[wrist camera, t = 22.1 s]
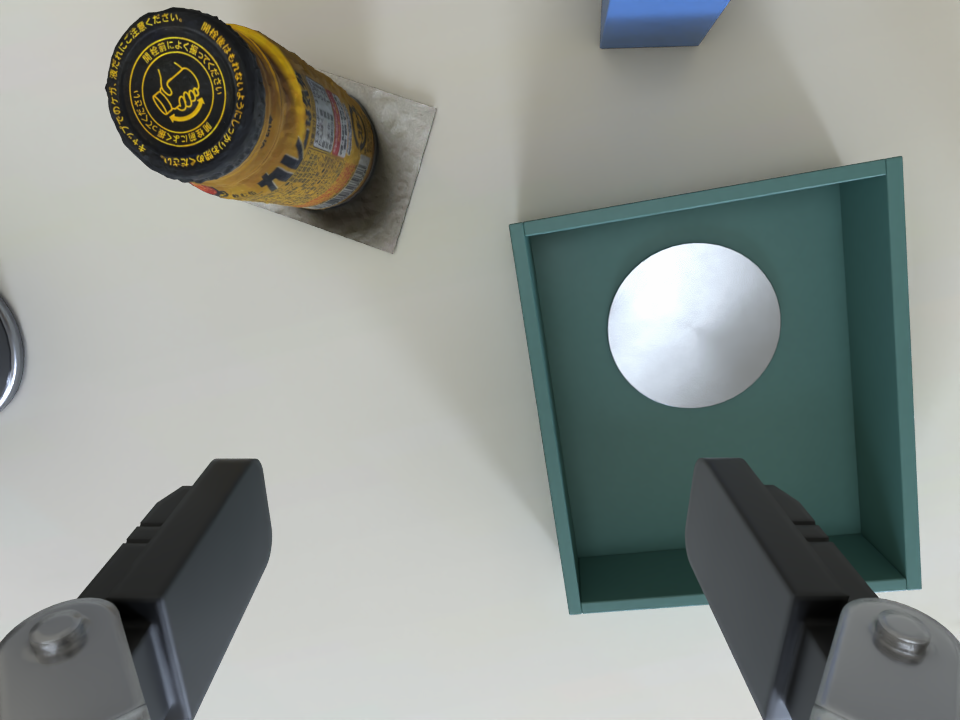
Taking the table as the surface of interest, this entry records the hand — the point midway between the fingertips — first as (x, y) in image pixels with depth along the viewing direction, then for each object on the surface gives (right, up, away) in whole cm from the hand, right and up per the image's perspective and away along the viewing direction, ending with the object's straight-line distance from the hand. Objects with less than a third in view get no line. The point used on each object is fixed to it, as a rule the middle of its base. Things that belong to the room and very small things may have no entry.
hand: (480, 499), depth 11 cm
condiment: (-7, +13, +20) cm, 25 cm away
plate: (+10, +4, +18) cm, 21 cm away
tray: (+11, +1, +19) cm, 22 cm away
